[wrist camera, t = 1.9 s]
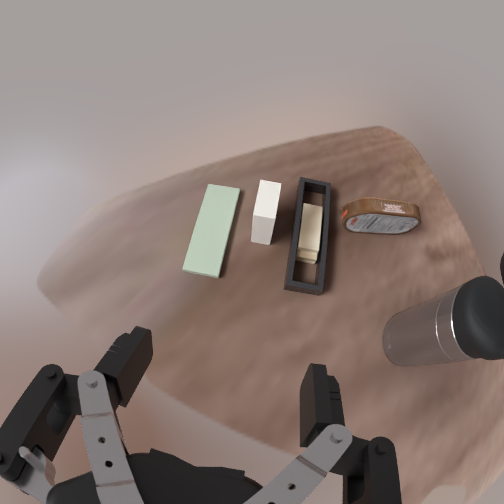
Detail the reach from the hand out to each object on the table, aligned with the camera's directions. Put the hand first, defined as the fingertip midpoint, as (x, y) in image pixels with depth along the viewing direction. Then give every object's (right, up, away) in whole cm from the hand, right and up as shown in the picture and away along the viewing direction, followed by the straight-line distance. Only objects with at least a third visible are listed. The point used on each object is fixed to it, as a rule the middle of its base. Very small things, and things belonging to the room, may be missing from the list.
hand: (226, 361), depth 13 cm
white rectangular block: (+3, +9, +33) cm, 34 cm away
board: (-5, +9, +32) cm, 34 cm away
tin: (+23, +9, +34) cm, 42 cm away
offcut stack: (+10, +8, +33) cm, 35 cm away
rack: (+10, +8, +33) cm, 35 cm away
